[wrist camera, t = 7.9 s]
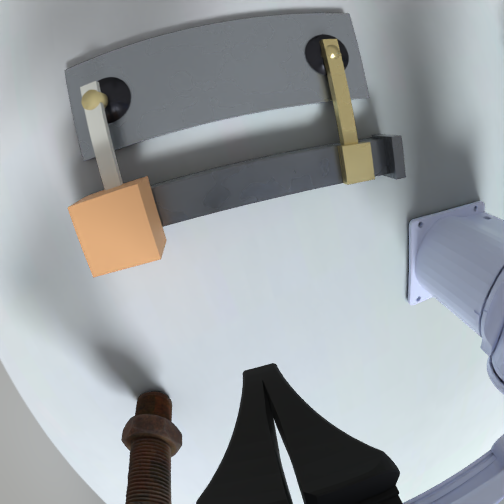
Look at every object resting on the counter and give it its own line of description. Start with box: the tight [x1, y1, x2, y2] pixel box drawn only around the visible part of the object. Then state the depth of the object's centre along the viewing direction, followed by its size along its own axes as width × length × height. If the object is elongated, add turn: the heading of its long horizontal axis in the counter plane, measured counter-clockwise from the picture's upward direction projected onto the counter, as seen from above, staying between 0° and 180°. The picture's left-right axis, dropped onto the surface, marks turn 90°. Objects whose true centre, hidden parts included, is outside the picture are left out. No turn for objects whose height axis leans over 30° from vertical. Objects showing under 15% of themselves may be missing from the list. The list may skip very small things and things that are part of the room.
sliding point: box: [68, 81, 166, 277], centre depth 15 cm, size 4×10×4 cm, turn 12°
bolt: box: [122, 391, 182, 504], centre depth 18 cm, size 6×5×15 cm
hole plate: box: [65, 13, 369, 161], centre depth 17 cm, size 19×6×1 cm, turn 102°
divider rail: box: [151, 39, 406, 227], centre depth 17 cm, size 21×10×3 cm, turn 102°
